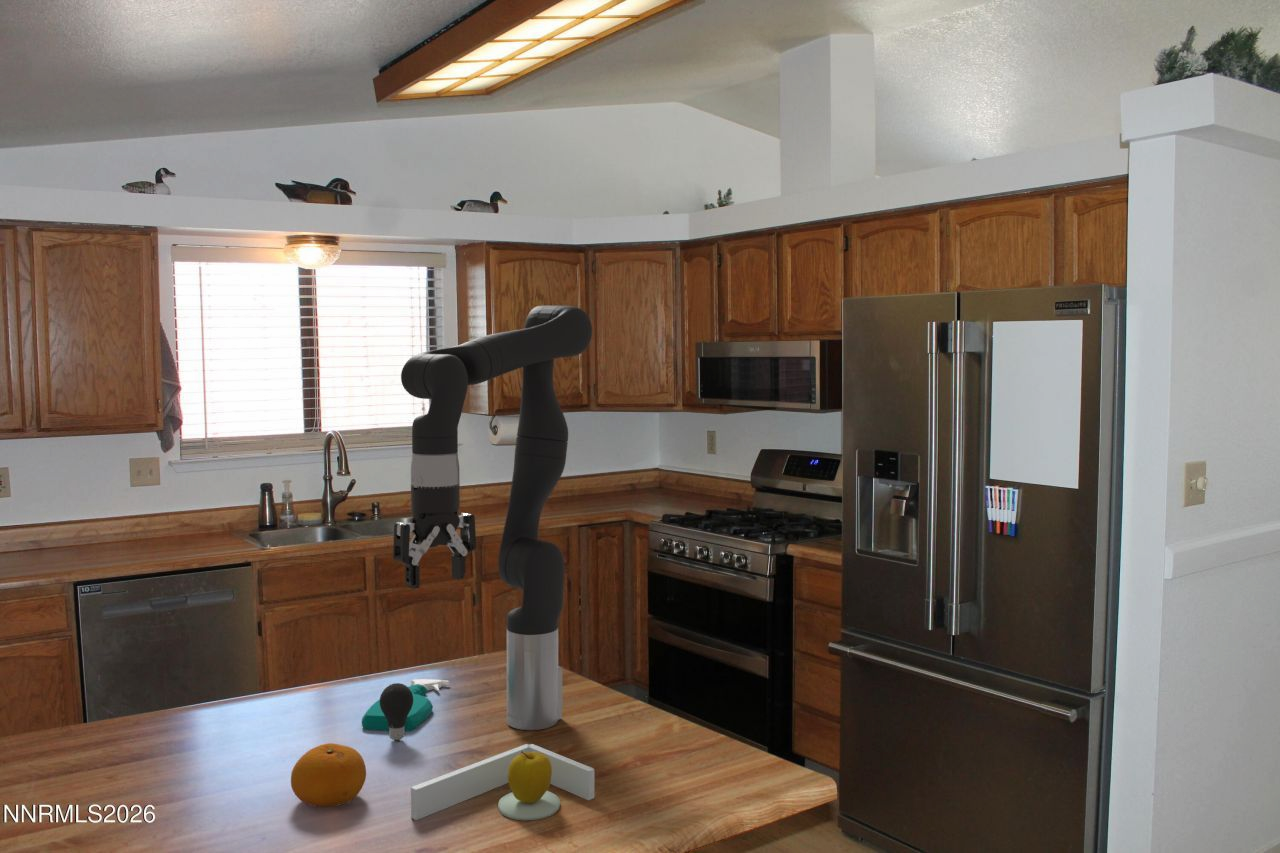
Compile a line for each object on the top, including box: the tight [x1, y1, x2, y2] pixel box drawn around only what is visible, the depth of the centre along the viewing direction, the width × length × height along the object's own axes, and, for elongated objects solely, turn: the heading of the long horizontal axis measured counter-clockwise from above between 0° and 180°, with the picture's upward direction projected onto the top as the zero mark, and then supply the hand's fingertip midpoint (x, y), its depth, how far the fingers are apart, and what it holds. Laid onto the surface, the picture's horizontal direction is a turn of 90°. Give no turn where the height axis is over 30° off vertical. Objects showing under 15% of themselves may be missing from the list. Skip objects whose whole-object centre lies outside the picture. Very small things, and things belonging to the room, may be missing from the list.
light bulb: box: [379, 682, 413, 743], centre depth 174 cm, size 6×6×10 cm
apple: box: [508, 751, 552, 803], centre depth 150 cm, size 6×6×8 cm
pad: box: [497, 790, 561, 822], centre depth 150 cm, size 9×9×1 cm
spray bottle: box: [361, 678, 450, 733], centre depth 191 cm, size 3×11×24 cm
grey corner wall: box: [410, 743, 596, 821], centre depth 150 cm, size 23×15×4 cm, turn 138°
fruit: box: [290, 743, 367, 808], centre depth 151 cm, size 10×10×8 cm
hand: (435, 583), depth 161 cm, fingers open, 8 cm apart
